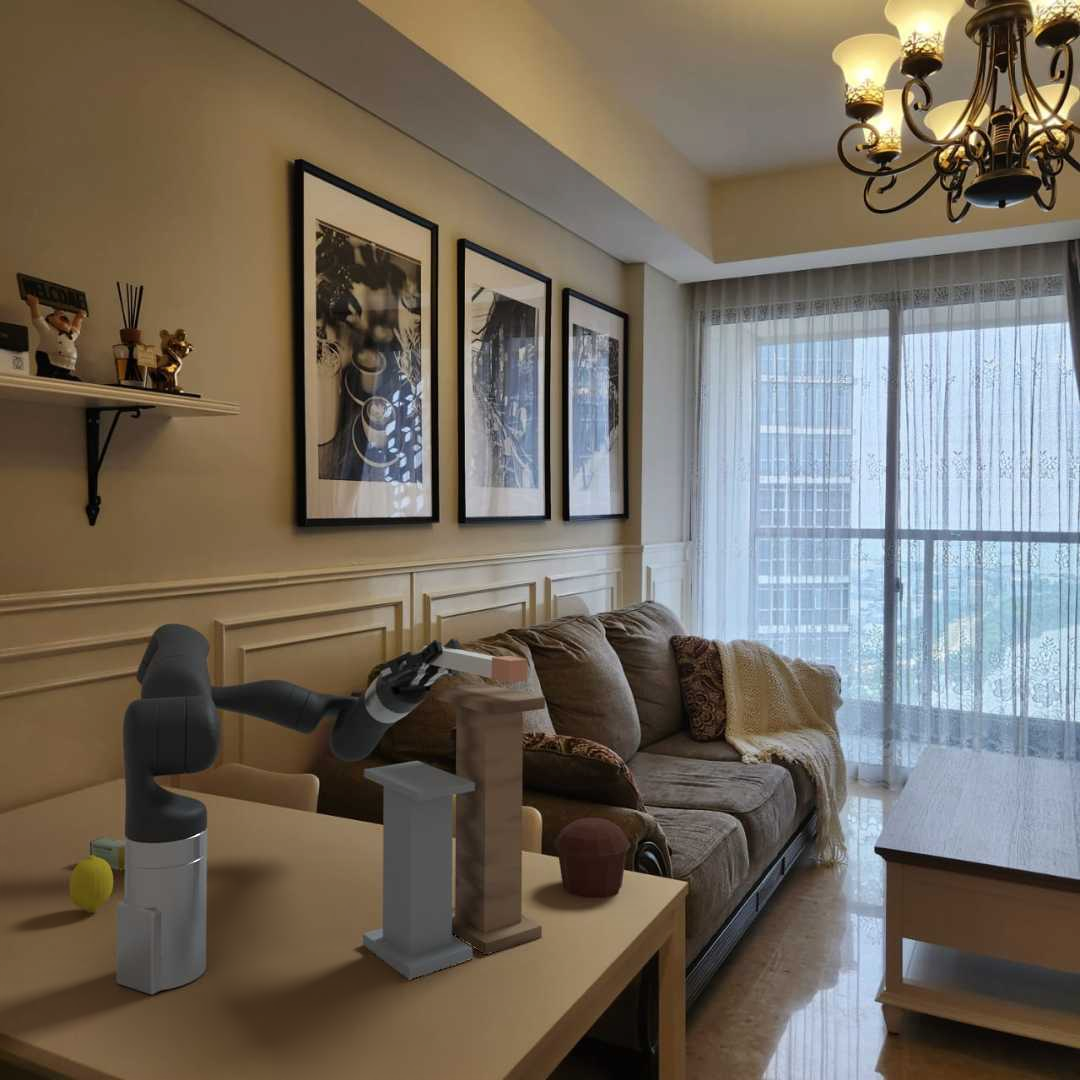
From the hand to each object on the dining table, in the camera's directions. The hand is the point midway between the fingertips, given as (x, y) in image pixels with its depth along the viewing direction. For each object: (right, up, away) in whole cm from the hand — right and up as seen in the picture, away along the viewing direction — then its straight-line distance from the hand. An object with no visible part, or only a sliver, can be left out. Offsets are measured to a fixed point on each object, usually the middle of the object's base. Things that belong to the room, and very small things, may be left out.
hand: (448, 645), depth 133 cm
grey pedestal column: (-3, -37, -15) cm, 40 cm away
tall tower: (+6, -37, -8) cm, 39 cm away
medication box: (-53, -37, +15) cm, 67 cm away
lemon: (-50, -37, -3) cm, 62 cm away
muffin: (+21, -38, +8) cm, 44 cm away
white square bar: (+4, -3, -5) cm, 7 cm away
